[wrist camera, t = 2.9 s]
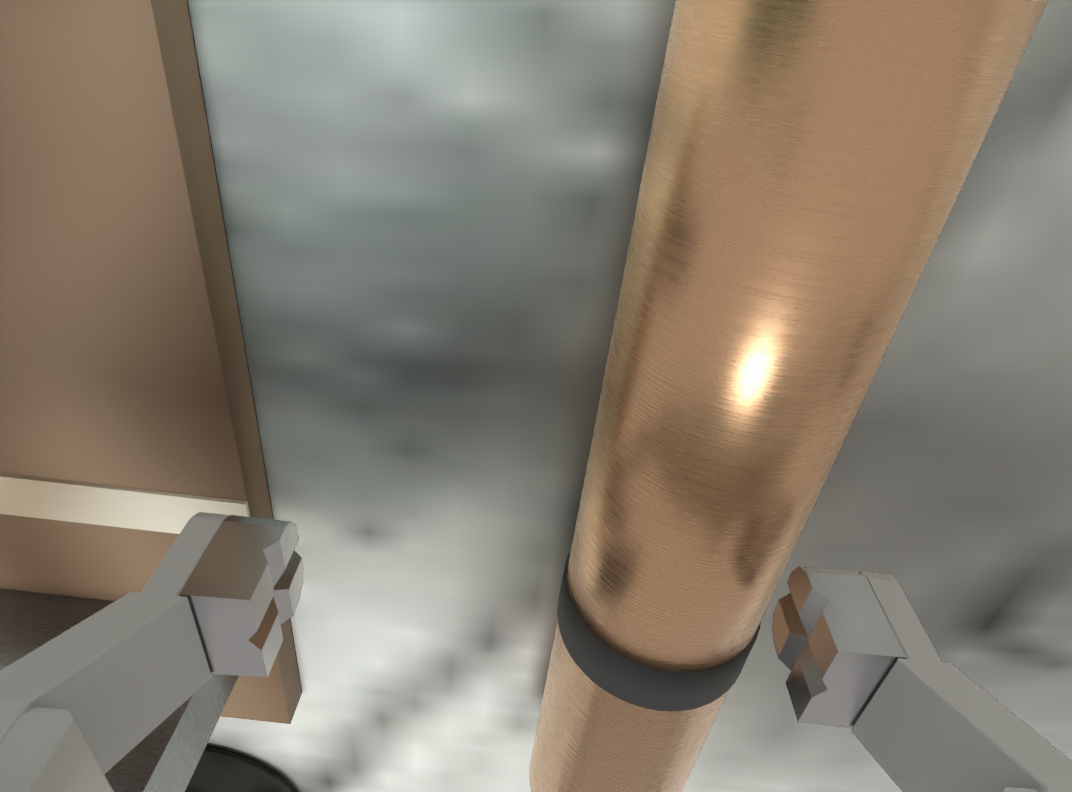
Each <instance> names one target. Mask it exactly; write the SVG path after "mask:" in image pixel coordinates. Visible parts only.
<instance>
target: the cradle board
mask: <svg viewBox="0 0 1072 792" xmlns="http://www.w3.org/2000/svg"><path fill="white" fill-rule="evenodd" d="M198 512H206V513H214V514H223V515H236V516H245V517H254V518H263V519H271V520H273V516H272V510H271V504H270V498H269V492H268V486H267V480H266V474H265V468H264V462H263V456H262V450H261V444H260V438H259V432H258V426H257V420H256V414H255V408H254V402H253V396H252V390H251V384H250V378H249V371H248V365H247V359H246V353H245V347H244V341H243V335H242V329H241V323H240V317H239V311H238V305H237V299H236V293H235V287H234V281H233V275H232V269H231V263H230V257H229V251H228V245H227V239H226V233H225V227H224V221H223V215H222V209H221V203H220V197H219V191H218V185H217V179H216V173H215V167H214V161H213V155H212V149H211V143H210V137H209V131H208V125H207V119H206V113H205V107H204V101H203V95H202V89H201V83H200V77H199V71H198V65H197V59H196V53H195V47H194V41H193V35H192V29H191V23H190V17H189V11H188V5H187V0H0V588H3V589H12V590H21V591H30V592H39V593H48V594H57V595H65V596H74V597H83V598H92V599H101V600H110V601H116V600H118V599H120V598H121V597H123V596H125V595H126V594H128V593H130V592H141V591H142V589H143V588H144V586H145V585H146V583H147V582H148V580H149V579H150V577H151V576H152V574H153V573H154V571H155V570H156V568H157V567H158V565H159V564H160V562H161V561H162V559H163V558H164V556H165V555H166V553H167V552H168V550H169V549H170V547H171V546H172V544H173V543H174V541H175V540H176V538H177V537H178V535H179V534H180V532H181V531H182V529H183V528H184V526H185V525H186V523H187V522H188V520H189V519H190V518H191V517H192V516H194V515H195V514H197V513H198ZM281 630H282V635H283V641H282V644H281V646H280V649H279V651H278V654H277V656H276V658H275V661H274V663H273V666H272V668H271V670H270V673H269V675H268V677H256V676H239V677H238V679H237V681H236V683H235V685H234V687H233V689H232V692H231V694H230V696H229V698H228V700H227V702H226V704H225V707H224V709H223V711H222V713H221V715H220V716H223V717H232V718H241V719H250V720H259V721H269V722H278V723H287V724H290V723H291V721H292V718H293V715H294V713H295V710H296V707H297V704H298V702H299V699H300V696H301V694H302V690H301V684H300V678H299V672H298V666H297V660H296V654H295V648H294V642H293V636H292V630H291V624H290V618H289V619H288V620H286V621H285V622H284V623H282V624H281Z"/></svg>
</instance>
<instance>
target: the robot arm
mask: <svg viewBox="0 0 1072 792" xmlns="http://www.w3.org/2000/svg"><path fill="white" fill-rule="evenodd" d="M298 540H299V536H298V531H297V526H296V524H295V523H293V522H289V521H280V520H271V519H263V518H254V517H245V516H236V515H223V514H214V513H206V512H198V513H197V514H195V515H194V516H192V517H191V518H190V519H189V520H188V522H187V523H186V525H185V526H184V528H183V529H182V531H181V532H180V534H179V535H178V537H177V538H176V540H175V541H174V543H173V544H172V546H171V547H170V549H169V550H168V552H167V553H166V555H165V556H164V558H163V559H162V561H161V562H160V564H159V565H158V567H157V568H156V570H155V571H154V573H153V574H152V576H151V577H150V579H149V580H148V582H147V583H146V585H145V586H144V588H143V589H142V591H141V592H130V593H128V594H126V595H125V596H123V597H121V598H120V599H118V600H116V601H115V602H113V603H111V604H110V605H108V606H106V607H105V608H103V609H101V610H100V611H98V612H96V613H95V614H93V615H91V616H90V617H88V618H86V619H85V620H83V621H82V622H80V623H78V624H77V625H75V626H73V627H72V628H70V629H68V630H67V631H65V632H63V633H62V634H60V635H58V636H57V637H55V638H53V639H52V640H50V641H48V642H47V643H45V644H43V645H42V646H40V647H38V648H37V649H35V650H33V651H32V652H30V653H28V654H27V655H25V656H24V657H22V658H20V659H19V660H17V661H15V662H14V663H12V664H10V665H9V666H7V667H5V668H4V669H2V670H0V792H114V791H113V789H112V787H111V785H110V783H109V782H108V780H107V778H106V776H105V773H106V772H108V771H109V770H110V769H111V768H112V767H113V766H114V765H115V764H116V763H118V762H119V761H120V760H121V759H122V758H123V757H124V756H125V755H126V754H128V753H129V752H130V751H131V750H132V749H133V748H134V747H135V746H136V745H137V744H139V743H140V742H141V741H142V740H143V739H144V738H145V737H146V736H147V735H149V734H150V733H151V732H152V731H153V730H154V729H155V728H156V727H157V726H159V725H160V724H161V723H162V722H163V721H164V720H165V719H166V718H167V717H169V716H170V715H171V714H172V713H173V712H174V711H175V710H176V709H177V708H179V707H180V706H181V705H182V704H183V703H184V702H185V701H186V700H187V699H189V698H190V697H191V696H192V695H193V694H194V693H195V692H196V691H197V690H198V689H200V688H201V687H202V686H203V685H204V684H205V683H206V682H207V681H208V680H210V679H211V678H212V675H211V674H220V675H238V676H256V677H268V675H269V673H270V670H271V668H272V666H273V663H274V661H275V658H276V656H277V654H278V651H279V649H280V646H281V644H282V641H283V635H282V630H281V624H282V623H284V622H285V621H286V620H288V619H289V618H290V617H292V616H293V614H294V612H295V609H296V607H297V604H298V602H299V598H300V594H301V589H302V584H303V561H302V557H301V556H300V555H299V554H298V553H297V552H295V551H294V549H295V546H296V544H297V542H298ZM787 583H788V586H789V589H790V592H791V593H789V594H788V595H786V596H785V597H783V598H781V599H780V600H779V601H778V604H777V606H776V609H775V611H774V614H773V626H772V633H773V640H774V645H775V649H776V652H777V656H778V658H779V659H780V660H781V661H782V662H783V663H784V664H785V665H786V666H787V667H788V668H789V669H790V670H791V673H790V675H789V677H788V679H787V681H786V685H787V688H788V691H789V695H790V698H791V701H792V704H793V707H794V710H795V714H796V717H797V720H798V722H804V723H813V724H822V725H831V726H840V727H849V728H852V729H851V731H852V732H853V734H854V735H855V736H856V737H857V738H858V740H859V741H860V742H861V743H862V744H863V746H864V747H865V748H866V749H867V750H868V751H869V753H870V754H871V755H872V756H873V757H874V759H875V760H876V761H877V762H878V763H879V765H880V766H881V767H882V768H883V769H884V770H885V772H886V773H887V774H888V775H889V776H890V778H891V779H892V780H893V781H894V782H895V784H896V785H897V786H898V787H899V788H900V789H901V791H902V792H1072V760H1070V759H1069V758H1068V757H1067V756H1065V755H1064V754H1063V753H1062V752H1060V751H1059V750H1058V749H1057V748H1056V747H1054V746H1053V745H1052V744H1051V743H1049V742H1048V741H1047V740H1046V739H1044V738H1043V737H1042V736H1041V735H1040V734H1038V733H1037V732H1036V731H1035V730H1033V729H1032V728H1031V727H1030V726H1028V725H1027V724H1026V723H1025V722H1024V721H1022V720H1021V719H1020V718H1019V717H1017V716H1016V715H1015V714H1014V713H1012V712H1011V711H1010V710H1009V709H1007V708H1006V707H1005V706H1004V705H1003V704H1001V703H1000V702H999V701H998V700H996V699H995V698H994V697H993V696H991V695H990V694H989V693H988V692H987V691H985V690H984V689H983V688H982V687H980V686H979V685H978V684H977V683H975V682H974V681H973V680H972V679H971V678H969V677H968V676H967V675H966V674H964V673H963V672H962V671H961V670H959V669H958V668H957V667H956V666H955V665H953V664H952V663H945V662H942V661H941V659H940V657H939V655H938V653H937V651H936V650H935V648H934V646H933V644H932V642H931V640H930V639H929V637H928V635H927V633H926V631H925V630H924V628H923V626H922V624H921V622H920V620H919V619H918V617H917V615H916V613H915V611H914V609H913V608H912V606H911V604H910V602H909V600H908V598H907V597H906V595H905V593H904V591H903V589H902V587H901V586H900V584H899V582H898V580H897V579H896V578H894V577H893V576H892V575H891V574H882V573H870V572H856V571H847V570H834V569H822V568H809V567H797V568H796V569H795V570H793V571H792V573H791V575H790V577H789V579H788V581H787Z"/></svg>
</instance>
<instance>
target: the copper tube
mask: <svg viewBox="0 0 1072 792" xmlns="http://www.w3.org/2000/svg"><path fill="white" fill-rule="evenodd" d="M1047 3H1048V0H676V1H675V6H674V12H673V17H672V22H671V27H670V33H669V38H668V43H667V48H666V54H665V59H664V64H663V69H662V75H661V80H660V85H659V90H658V96H657V101H656V106H655V111H654V117H653V122H652V127H651V132H650V138H649V143H648V148H647V153H646V159H645V164H644V169H643V174H642V180H641V185H640V190H639V195H638V201H637V206H636V211H635V216H634V222H633V227H632V232H631V237H630V243H629V248H628V253H627V258H626V264H625V269H624V274H623V279H622V285H621V290H620V295H619V300H618V306H617V311H616V316H615V321H614V327H613V332H612V337H611V342H610V348H609V353H608V358H607V363H606V369H605V374H604V379H603V384H602V390H601V395H600V400H599V405H598V411H597V416H596V421H595V426H594V432H593V437H592V442H591V447H590V453H589V458H588V463H587V468H586V474H585V479H584V484H583V489H582V495H581V500H580V505H579V510H578V516H577V521H576V526H575V531H574V537H573V542H572V547H571V550H570V552H569V554H568V557H567V560H566V564H565V569H564V574H563V580H562V585H561V590H560V596H559V601H558V609H557V615H558V621H557V626H556V631H555V636H554V642H553V647H552V652H551V657H550V663H549V668H548V673H547V678H546V684H545V689H544V694H543V699H542V705H541V710H540V715H539V720H538V726H537V731H536V736H535V742H534V747H533V752H532V757H531V764H530V786H531V792H682V789H683V787H684V785H685V783H686V781H687V779H688V777H689V774H690V772H691V770H692V768H693V766H694V764H695V761H696V759H697V757H698V755H699V753H700V751H701V749H702V746H703V744H704V742H705V740H706V738H707V736H708V733H709V731H710V729H711V727H712V725H713V723H714V720H715V718H716V716H717V714H718V712H719V710H720V708H721V705H722V703H723V701H724V699H725V697H726V695H727V692H728V690H729V689H730V688H731V686H732V685H733V684H734V683H735V681H736V679H737V678H738V676H739V674H740V672H741V670H742V668H743V666H744V663H745V661H746V659H747V657H748V655H749V653H750V651H751V649H752V646H753V644H754V642H755V640H756V638H757V635H758V632H759V629H760V624H761V619H762V617H763V615H764V613H765V611H766V608H767V606H768V604H769V602H770V600H771V598H772V595H773V593H774V591H775V589H776V587H777V585H778V583H779V580H780V578H781V576H782V574H783V572H784V570H785V567H786V565H787V563H788V561H789V559H790V557H791V554H792V552H793V550H794V548H795V546H796V544H797V542H798V539H799V537H800V535H801V533H802V531H803V529H804V526H805V524H806V522H807V520H808V518H809V516H810V514H811V511H812V509H813V507H814V505H815V503H816V501H817V498H818V496H819V494H820V492H821V490H822V488H823V485H824V483H825V481H826V479H827V477H828V475H829V473H830V470H831V468H832V466H833V464H834V462H835V460H836V457H837V455H838V453H839V451H840V449H841V447H842V445H843V442H844V440H845V438H846V436H847V434H848V432H849V429H850V427H851V425H852V423H853V421H854V419H855V416H856V414H857V412H858V410H859V408H860V406H861V404H862V401H863V399H864V397H865V395H866V393H867V391H868V388H869V386H870V384H871V382H872V380H873V378H874V376H875V373H876V371H877V369H878V367H879V365H880V363H881V360H882V358H883V356H884V354H885V352H886V350H887V348H888V345H889V343H890V341H891V339H892V337H893V335H894V332H895V330H896V328H897V326H898V324H899V322H900V319H901V317H902V315H903V313H904V311H905V309H906V307H907V304H908V302H909V300H910V298H911V296H912V294H913V291H914V289H915V287H916V285H917V283H918V281H919V279H920V276H921V274H922V272H923V270H924V268H925V266H926V263H927V261H928V259H929V257H930V255H931V253H932V250H933V248H934V246H935V244H936V242H937V240H938V238H939V235H940V233H941V231H942V229H943V227H944V225H945V222H946V220H947V218H948V216H949V214H950V212H951V210H952V207H953V205H954V203H955V201H956V199H957V197H958V194H959V192H960V190H961V188H962V186H963V184H964V181H965V179H966V177H967V175H968V173H969V171H970V169H971V166H972V164H973V162H974V160H975V158H976V156H977V153H978V151H979V149H980V147H981V145H982V143H983V141H984V138H985V136H986V134H987V132H988V130H989V128H990V125H991V123H992V121H993V119H994V117H995V115H996V112H997V110H998V108H999V106H1000V104H1001V102H1002V100H1003V97H1004V95H1005V93H1006V91H1007V89H1008V87H1009V84H1010V82H1011V80H1012V78H1013V76H1014V74H1015V72H1016V69H1017V67H1018V65H1019V63H1020V61H1021V59H1022V56H1023V54H1024V52H1025V50H1026V48H1027V46H1028V43H1029V41H1030V39H1031V37H1032V35H1033V33H1034V31H1035V28H1036V26H1037V24H1038V22H1039V20H1040V18H1041V15H1042V13H1043V11H1044V9H1045V7H1046V5H1047Z"/></svg>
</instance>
